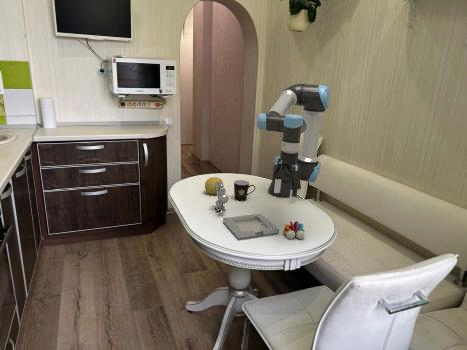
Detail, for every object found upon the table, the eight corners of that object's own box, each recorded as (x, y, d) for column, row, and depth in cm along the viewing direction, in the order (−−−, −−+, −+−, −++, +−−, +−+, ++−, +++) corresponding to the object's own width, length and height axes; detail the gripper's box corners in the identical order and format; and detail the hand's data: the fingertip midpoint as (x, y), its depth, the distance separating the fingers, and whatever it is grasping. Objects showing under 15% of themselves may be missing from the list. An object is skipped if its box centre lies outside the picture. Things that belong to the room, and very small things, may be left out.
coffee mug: (230, 200, 195) (231, 183, 192) (236, 195, 203) (237, 179, 200) (249, 204, 191) (251, 187, 188) (255, 199, 199) (256, 182, 196)
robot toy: (229, 217, 173) (231, 188, 169) (217, 217, 172) (219, 188, 168) (223, 205, 187) (225, 178, 183) (212, 205, 186) (213, 179, 181)
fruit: (225, 193, 205) (226, 176, 202) (215, 198, 197) (216, 181, 194) (211, 189, 210) (212, 173, 207) (200, 193, 202) (201, 177, 199)
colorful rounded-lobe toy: (281, 231, 162) (282, 216, 160) (301, 231, 163) (303, 217, 161) (285, 240, 154) (286, 225, 152) (306, 240, 155) (308, 225, 153)
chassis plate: (260, 218, 175) (260, 213, 174) (278, 234, 159) (279, 229, 158) (222, 222, 167) (223, 217, 166) (238, 240, 151) (238, 235, 150)
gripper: (268, 145, 160) (264, 189, 166) (297, 158, 138) (291, 208, 144) (282, 144, 163) (278, 188, 169) (313, 158, 141) (306, 207, 147)
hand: (284, 197), depth 156 cm, fingers open, 13 cm apart
